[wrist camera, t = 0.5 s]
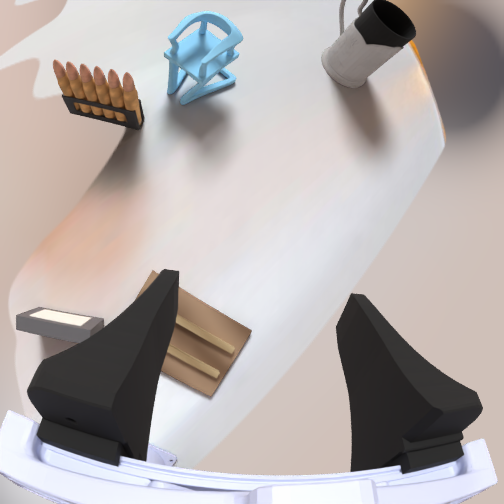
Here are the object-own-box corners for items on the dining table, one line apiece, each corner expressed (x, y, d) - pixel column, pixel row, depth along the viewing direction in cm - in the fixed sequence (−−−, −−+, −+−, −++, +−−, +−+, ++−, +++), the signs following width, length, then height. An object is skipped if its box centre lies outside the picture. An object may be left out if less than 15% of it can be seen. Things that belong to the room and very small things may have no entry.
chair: (155, 83, 37) (153, 29, 26) (197, 50, 39) (208, -4, 27) (194, 116, 39) (205, 67, 27) (236, 81, 40) (258, 29, 29)
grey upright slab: (103, 331, 35) (90, 345, 28) (39, 319, 33) (16, 329, 26) (103, 317, 35) (90, 329, 28) (39, 306, 33) (16, 314, 26)
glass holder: (334, 89, 44) (388, 40, 30) (300, 24, 44) (338, -32, 29) (374, 86, 46) (428, 45, 32) (340, 24, 46) (381, -23, 31)
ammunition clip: (144, 118, 37) (139, 67, 25) (139, 130, 37) (131, 82, 25) (75, 101, 35) (52, 52, 23) (69, 113, 34) (43, 66, 23)
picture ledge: (210, 393, 38) (212, 399, 36) (113, 339, 35) (110, 343, 33) (250, 329, 40) (254, 332, 38) (153, 270, 37) (152, 270, 35)
